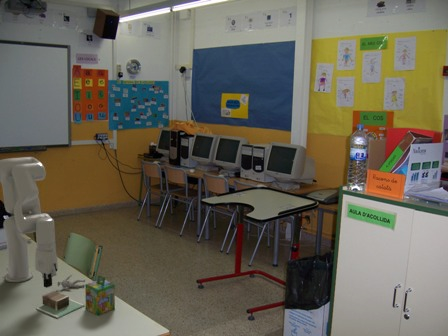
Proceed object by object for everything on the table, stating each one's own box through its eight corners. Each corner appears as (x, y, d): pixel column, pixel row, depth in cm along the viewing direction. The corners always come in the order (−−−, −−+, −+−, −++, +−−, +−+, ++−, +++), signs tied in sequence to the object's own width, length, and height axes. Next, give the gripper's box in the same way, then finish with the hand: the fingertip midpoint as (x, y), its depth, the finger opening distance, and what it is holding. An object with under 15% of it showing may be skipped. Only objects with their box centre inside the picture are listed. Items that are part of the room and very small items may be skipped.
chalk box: (85, 309, 203) (84, 277, 201) (102, 302, 210) (102, 270, 208) (97, 316, 197) (97, 283, 195) (115, 308, 204) (115, 276, 202)
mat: (36, 309, 202) (36, 308, 202) (63, 297, 214) (63, 296, 214) (57, 318, 195) (57, 317, 195) (84, 305, 206) (84, 304, 206)
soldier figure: (84, 291, 223) (59, 288, 218) (81, 295, 226) (55, 292, 221) (85, 276, 228) (60, 272, 222) (82, 280, 231) (57, 276, 225)
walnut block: (42, 295, 206) (56, 301, 200) (54, 290, 211) (68, 296, 205) (42, 304, 206) (57, 310, 201) (54, 299, 211) (69, 305, 206)
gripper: (27, 245, 205) (30, 285, 208) (49, 252, 197) (51, 293, 200) (42, 240, 211) (44, 279, 214) (64, 247, 203) (66, 287, 206)
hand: (48, 286), depth 207 cm, fingers closed
